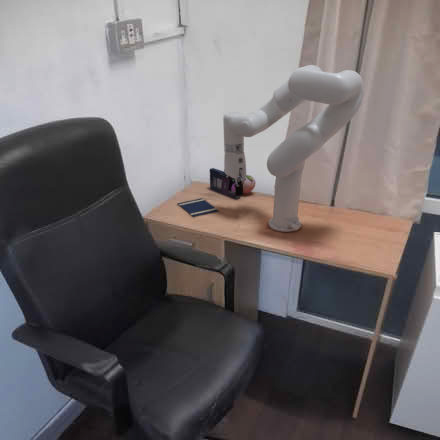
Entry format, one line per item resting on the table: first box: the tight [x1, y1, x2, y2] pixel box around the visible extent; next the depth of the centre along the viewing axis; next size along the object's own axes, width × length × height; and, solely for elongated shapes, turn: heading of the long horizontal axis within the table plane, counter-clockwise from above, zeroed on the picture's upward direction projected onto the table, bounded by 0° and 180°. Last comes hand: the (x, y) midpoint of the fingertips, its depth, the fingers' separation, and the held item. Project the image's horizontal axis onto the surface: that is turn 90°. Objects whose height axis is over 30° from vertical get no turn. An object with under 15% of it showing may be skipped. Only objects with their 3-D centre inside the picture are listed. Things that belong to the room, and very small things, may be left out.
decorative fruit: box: [238, 174, 256, 195], centre depth 191 cm, size 9×8×10 cm
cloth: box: [177, 197, 219, 218], centre depth 181 cm, size 16×12×1 cm
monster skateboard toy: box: [220, 177, 242, 197], centre depth 170 cm, size 7×5×9 cm
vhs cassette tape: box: [209, 167, 241, 200], centre depth 192 cm, size 18×3×10 cm, turn 40°
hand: (234, 192), depth 170 cm, fingers closed on monster skateboard toy, 6 cm apart
